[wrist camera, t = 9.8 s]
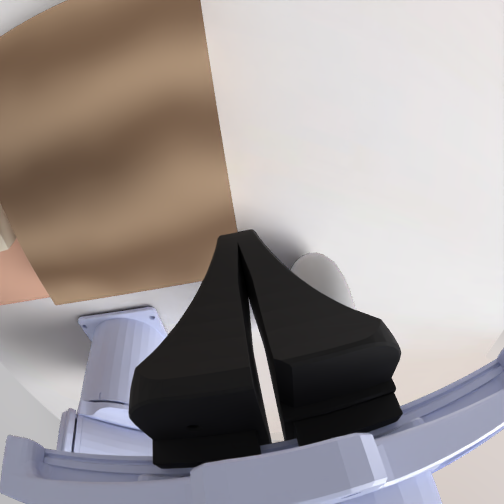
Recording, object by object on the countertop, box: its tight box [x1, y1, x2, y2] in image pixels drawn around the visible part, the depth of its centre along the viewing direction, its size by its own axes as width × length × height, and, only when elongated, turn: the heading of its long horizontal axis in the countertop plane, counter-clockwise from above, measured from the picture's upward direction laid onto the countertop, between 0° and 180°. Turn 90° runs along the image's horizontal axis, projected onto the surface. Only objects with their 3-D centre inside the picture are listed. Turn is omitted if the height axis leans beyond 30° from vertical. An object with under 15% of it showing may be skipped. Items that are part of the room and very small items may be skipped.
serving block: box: [0, 0, 237, 305], centre depth 15 cm, size 18×14×4 cm
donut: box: [291, 253, 356, 310], centre depth 22 cm, size 10×4×10 cm, turn 11°
